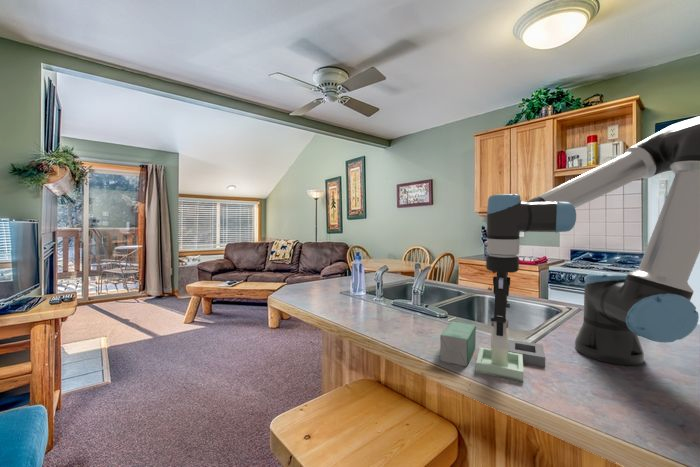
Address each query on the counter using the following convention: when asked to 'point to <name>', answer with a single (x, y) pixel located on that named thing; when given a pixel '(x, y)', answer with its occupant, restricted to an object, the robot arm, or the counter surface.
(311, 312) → the counter surface
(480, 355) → the tray
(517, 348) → the holder
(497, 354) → the block
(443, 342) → the box
